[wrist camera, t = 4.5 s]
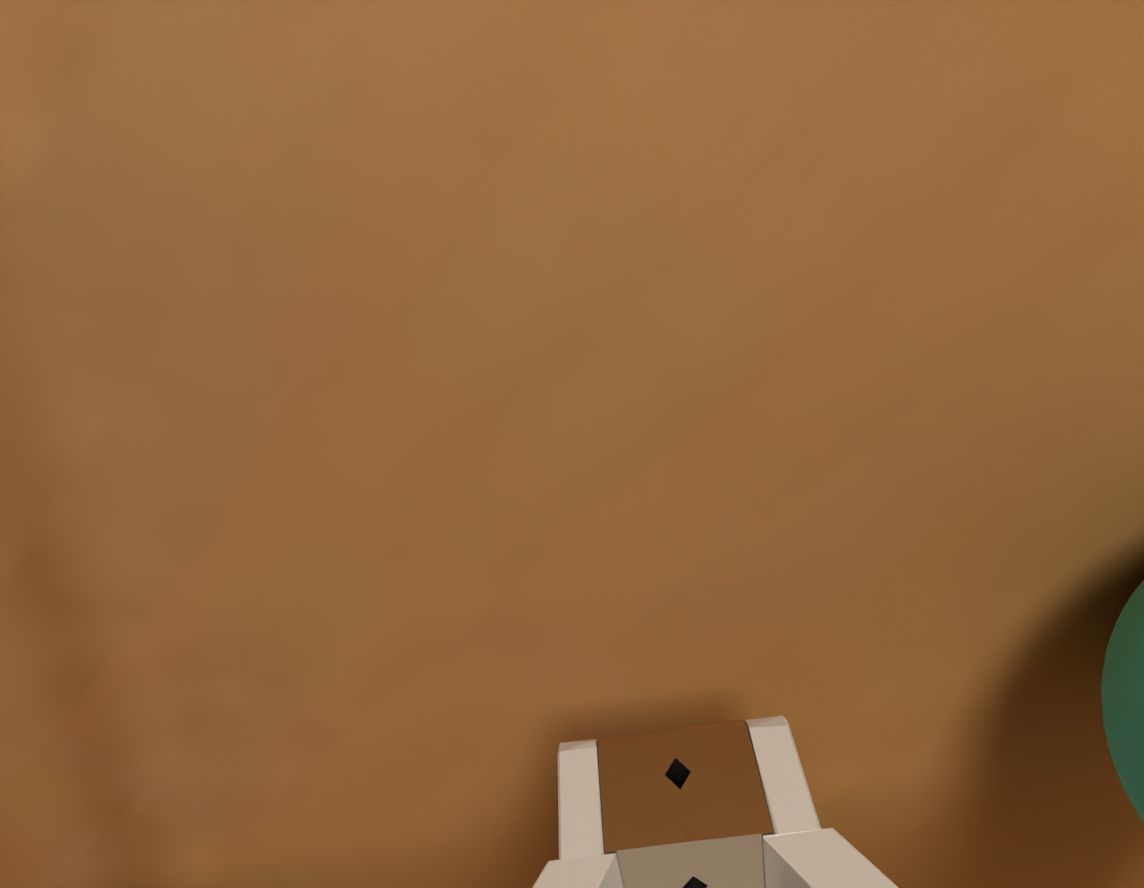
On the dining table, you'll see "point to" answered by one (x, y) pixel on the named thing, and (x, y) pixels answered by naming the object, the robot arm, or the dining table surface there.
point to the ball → (1126, 698)
